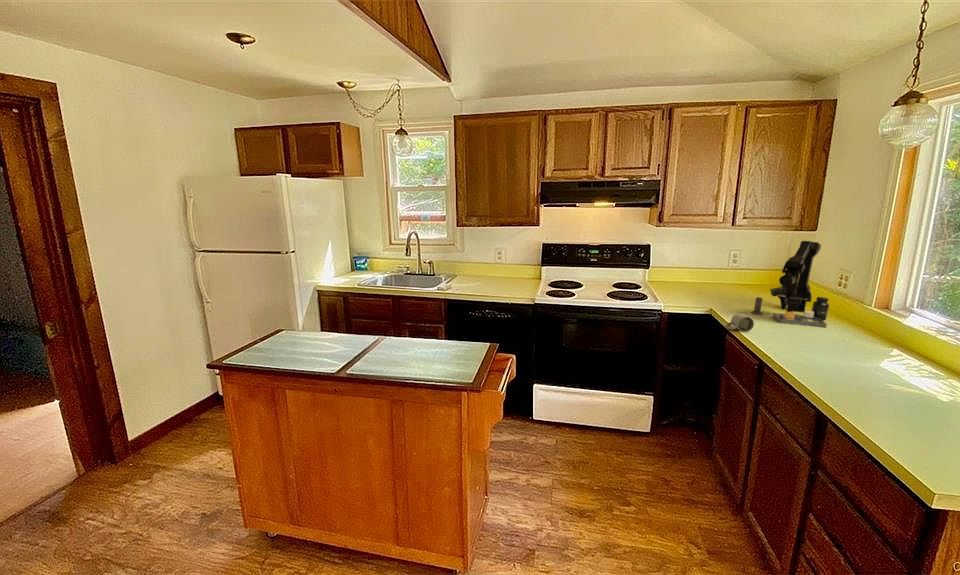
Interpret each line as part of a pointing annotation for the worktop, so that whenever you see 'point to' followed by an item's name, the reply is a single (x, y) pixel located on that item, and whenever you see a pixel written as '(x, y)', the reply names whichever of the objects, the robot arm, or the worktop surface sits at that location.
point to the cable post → (757, 306)
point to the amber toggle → (789, 314)
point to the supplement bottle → (820, 308)
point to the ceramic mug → (741, 323)
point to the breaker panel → (800, 320)
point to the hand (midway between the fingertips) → (785, 311)
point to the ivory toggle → (808, 314)
